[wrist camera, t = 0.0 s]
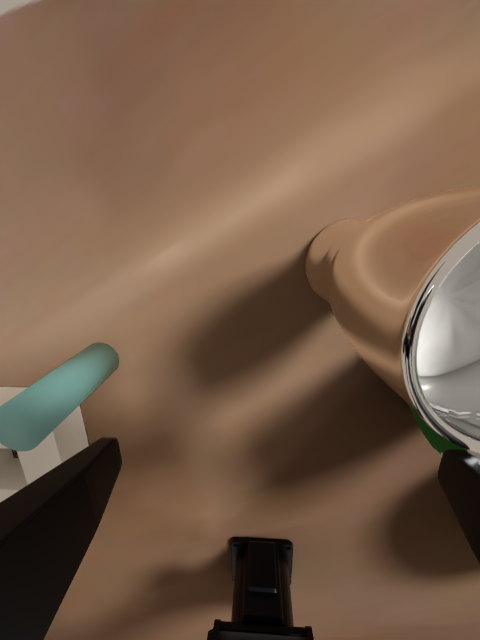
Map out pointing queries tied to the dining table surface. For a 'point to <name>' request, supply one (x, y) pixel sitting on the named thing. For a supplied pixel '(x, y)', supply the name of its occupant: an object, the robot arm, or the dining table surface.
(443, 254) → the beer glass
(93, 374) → the peg
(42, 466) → the socket block
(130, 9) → the dining table surface
